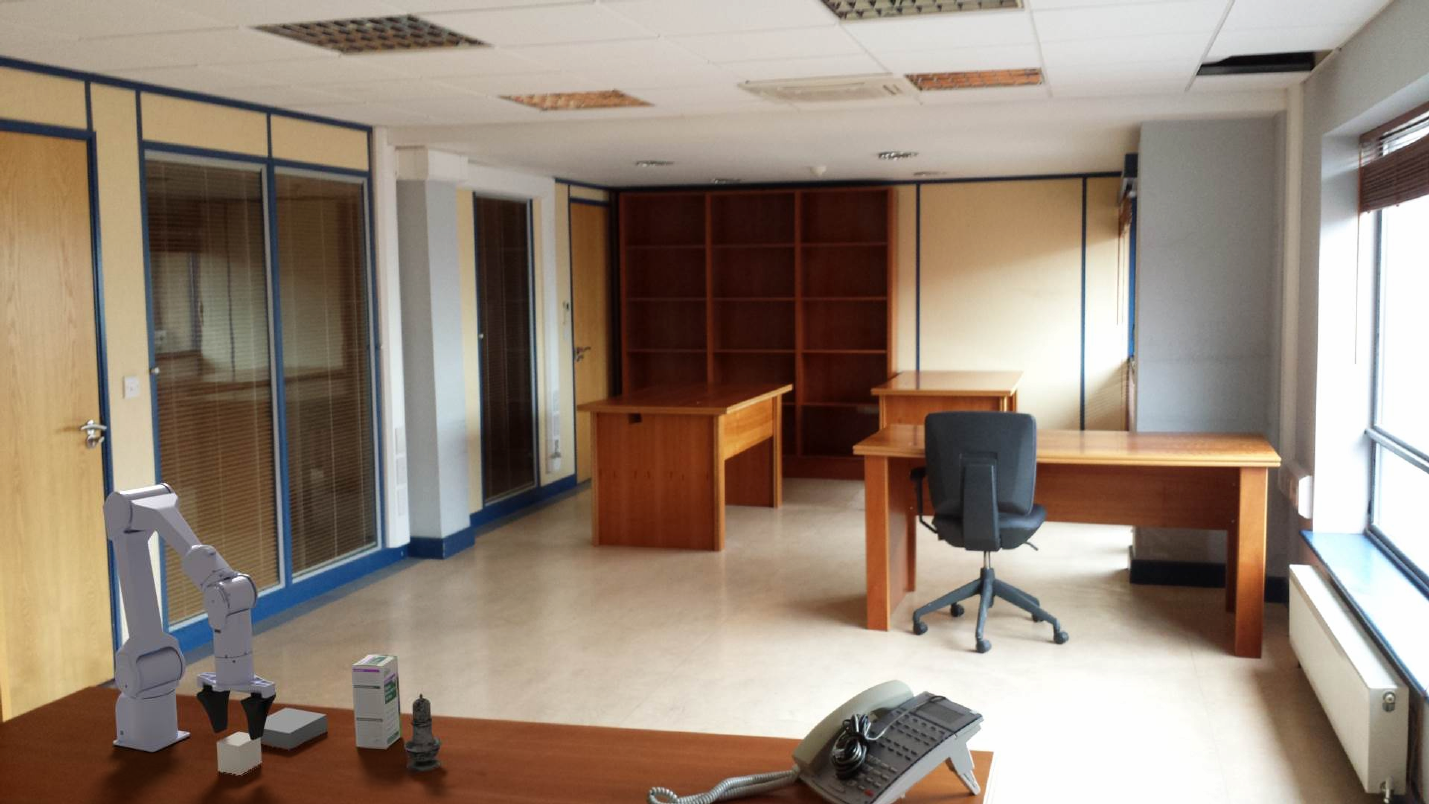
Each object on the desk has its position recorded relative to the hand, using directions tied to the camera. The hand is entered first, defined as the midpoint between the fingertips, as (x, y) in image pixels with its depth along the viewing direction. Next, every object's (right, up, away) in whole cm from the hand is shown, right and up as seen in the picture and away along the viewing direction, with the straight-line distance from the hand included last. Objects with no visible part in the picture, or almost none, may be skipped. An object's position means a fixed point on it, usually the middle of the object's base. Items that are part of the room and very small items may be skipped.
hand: (238, 734), depth 190 cm
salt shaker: (+30, -6, +1) cm, 30 cm away
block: (+3, -4, +13) cm, 14 cm away
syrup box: (+19, -5, +11) cm, 23 cm away
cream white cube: (0, -6, +1) cm, 6 cm away
